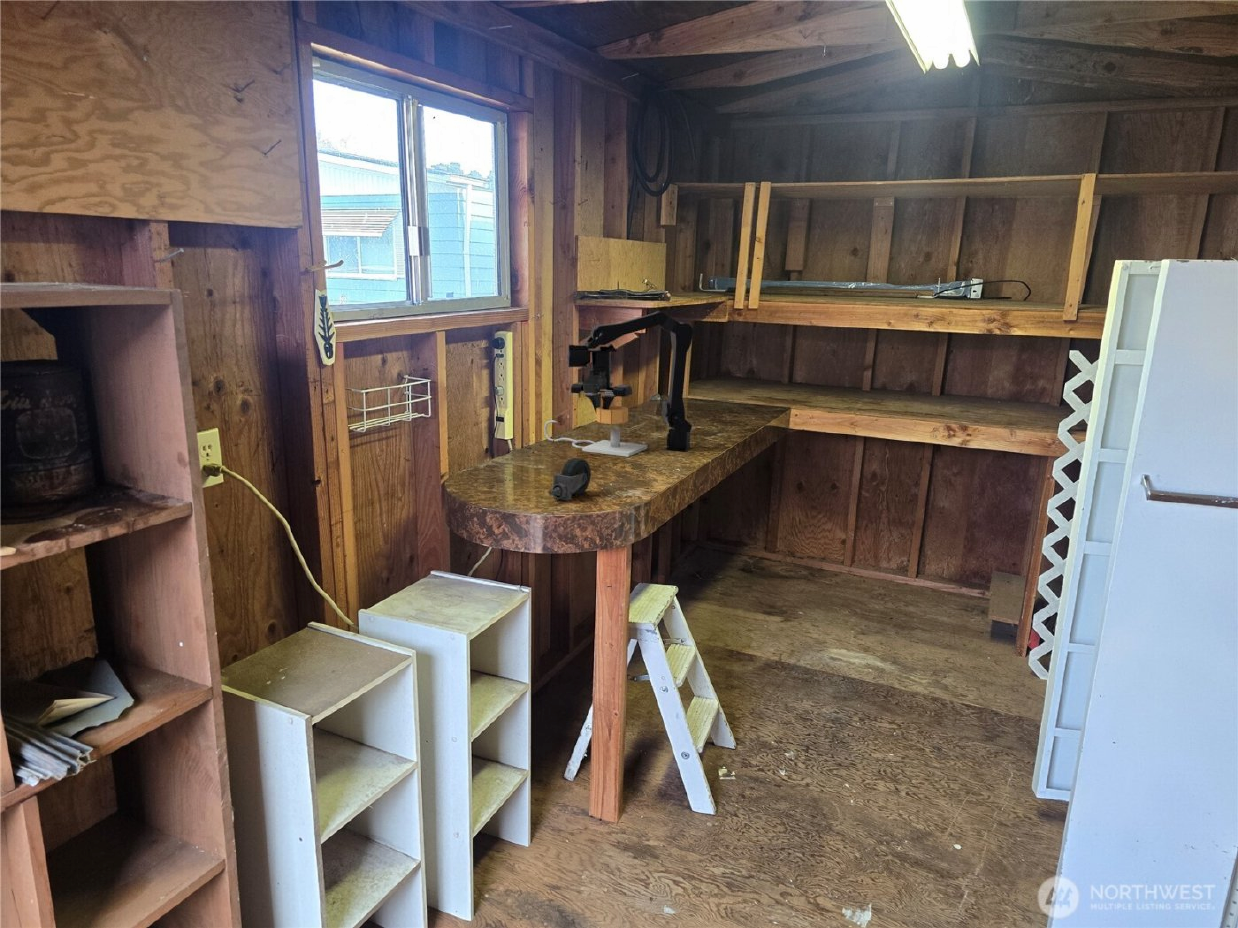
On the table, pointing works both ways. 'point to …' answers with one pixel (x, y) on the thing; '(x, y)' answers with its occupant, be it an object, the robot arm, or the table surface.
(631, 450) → the post board
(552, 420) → the hook
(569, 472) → the caster wheel
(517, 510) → the table surface
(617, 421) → the wooden bowl
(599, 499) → the table surface
